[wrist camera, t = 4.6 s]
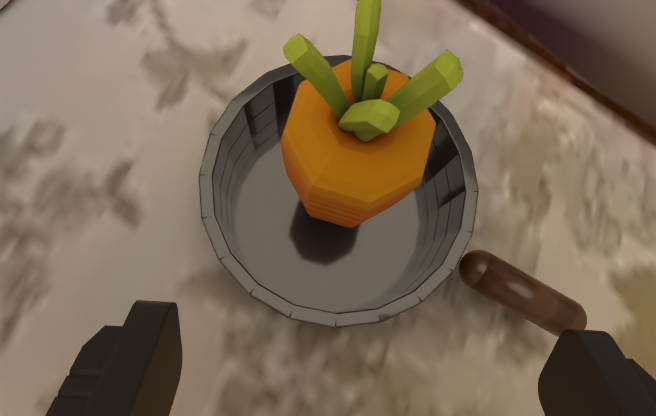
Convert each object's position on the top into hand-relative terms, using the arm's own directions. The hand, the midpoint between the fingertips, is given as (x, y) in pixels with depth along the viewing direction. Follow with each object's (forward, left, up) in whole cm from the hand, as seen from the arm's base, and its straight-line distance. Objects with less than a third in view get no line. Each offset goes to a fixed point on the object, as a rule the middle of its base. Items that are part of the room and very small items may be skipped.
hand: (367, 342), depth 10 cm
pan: (-3, +5, -14) cm, 16 cm away
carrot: (-3, +5, -14) cm, 15 cm away
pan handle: (+7, +5, -12) cm, 15 cm away
